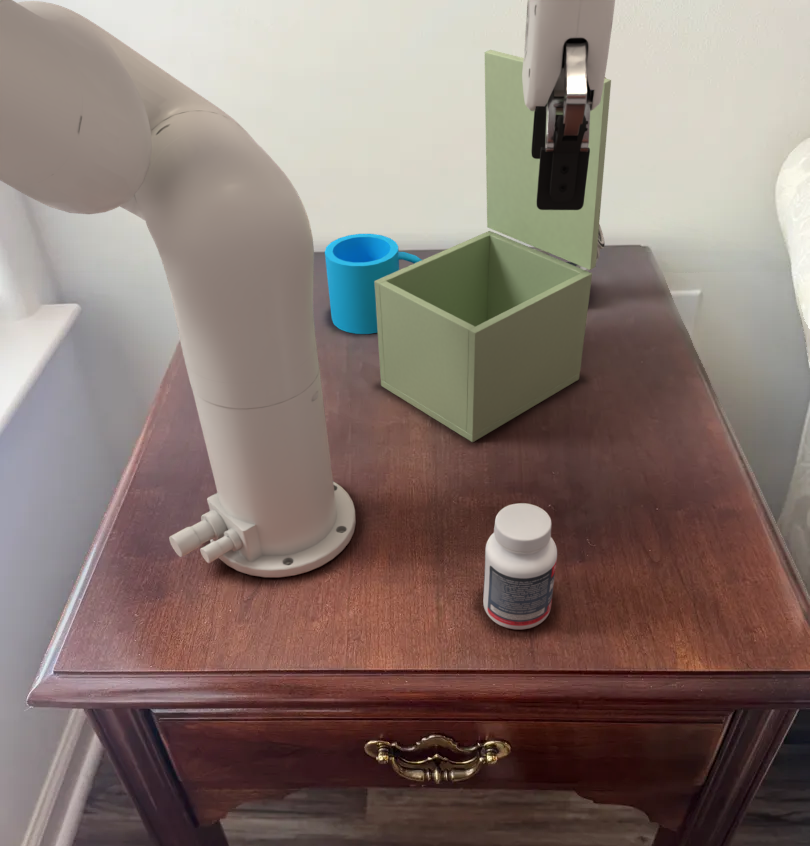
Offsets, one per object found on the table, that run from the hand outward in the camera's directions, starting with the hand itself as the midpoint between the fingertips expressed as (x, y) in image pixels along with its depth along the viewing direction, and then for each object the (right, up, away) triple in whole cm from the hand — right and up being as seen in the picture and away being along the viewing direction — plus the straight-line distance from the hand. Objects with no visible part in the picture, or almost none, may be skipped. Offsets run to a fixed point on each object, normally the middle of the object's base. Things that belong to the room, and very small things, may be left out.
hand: (555, 181), depth 63 cm
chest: (-3, -10, +26) cm, 28 cm away
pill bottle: (-2, -32, +4) cm, 32 cm away
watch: (+8, +2, +39) cm, 40 cm away
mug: (-14, 0, +37) cm, 40 cm away
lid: (+1, +8, +15) cm, 17 cm away
